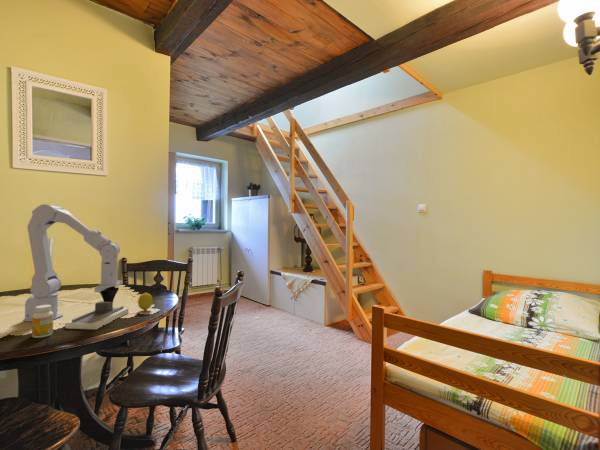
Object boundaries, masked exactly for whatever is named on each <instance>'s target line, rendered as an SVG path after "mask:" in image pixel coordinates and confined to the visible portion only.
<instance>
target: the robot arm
mask: <svg viewBox="0 0 600 450" xmlns="http://www.w3.org/2000/svg"><path fill="white" fill-rule="evenodd" d="M31 214H32V215H31V217H30V220H29V222H28V223H27V232H28V233H27V234H28V238H29V239H28V240H29V244H30V245H29V246H30V250H31V256H32V262H33V268H34V273H33V275H32V277H31V284H30V285H31V286H30V293H31V296H29V297H28V298H27V299H26V300H25V302H24V303H25V304H24V318H23V319H22V322H32V316H33V314H35V313H36V311H35V308H36V307H37V306H40V305H51V310H50V311H52V312H53V320H56V319H58V318H61V317H63V316H64V314H58V311H59V307H58V302H59V301H58V300H59V292H58V290H59V289H60V288H61V287H62V281H61V279H60V278H59V277H58V273H57V272H56V271H55V269H53V268H54V267H53V263H52V256H51V252H50V251H51V250H50V243H49V238H48V232H47V231H48V230H49V228H50V227H52V226H53V225H54V224H56V223H61V224H65V225H67V226H68V227H70V228H72V229H73V230H74V231H75V232H78V234H79V235H81V236H82V237H83V240H84V242H86V243H87V244H88V245H89V246H91V247H92V248H94V249H95V250H96V251H98V253H99V255H100V257H101V263H100V266H101V267H100V283H99V284H98V285H97V286H94V290H93V292H94V293H99V294H100V296H101V297H102V300H103V301H106V302H113V303H114V300H115V298H116V295H117V293H118V292H119V290H120V289H119V287H118V286H122V285H123V280H122V279H121V280H120V279H118V275H119V274H118V271H119V254H120V251H121V248H120V245H119V244H118V243H117V242H113V240H112V239H109V238H107V237H106V236H104V234H103V233H102V231H101V230H97V229H90V228H89V227H87V225H85V224H84V223H83V222H81V221H80V220H79V219H78V218H77V217H75V216H74V215H73V214H72V213H71V212H70V211H68V210H67V209H65V208H63V206H61V205H58V204H57V205H51V204H44V203H43V204H39V205H37V207H36V208H34V209H33V210H31Z"/></svg>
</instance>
